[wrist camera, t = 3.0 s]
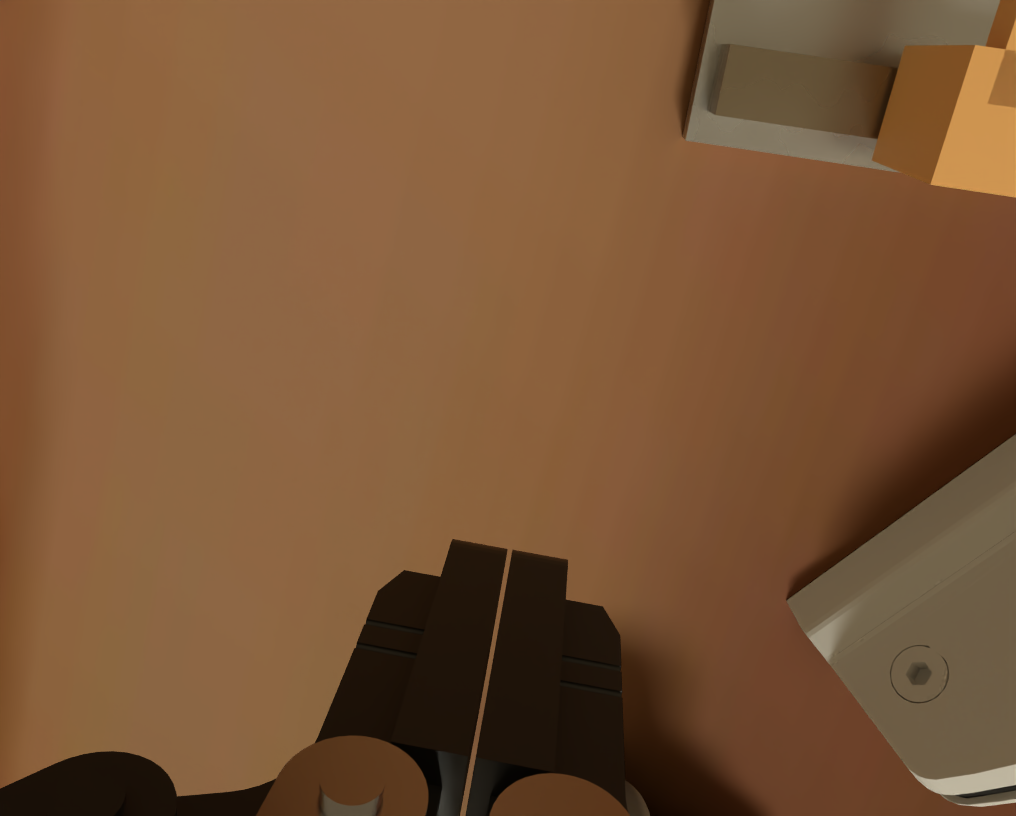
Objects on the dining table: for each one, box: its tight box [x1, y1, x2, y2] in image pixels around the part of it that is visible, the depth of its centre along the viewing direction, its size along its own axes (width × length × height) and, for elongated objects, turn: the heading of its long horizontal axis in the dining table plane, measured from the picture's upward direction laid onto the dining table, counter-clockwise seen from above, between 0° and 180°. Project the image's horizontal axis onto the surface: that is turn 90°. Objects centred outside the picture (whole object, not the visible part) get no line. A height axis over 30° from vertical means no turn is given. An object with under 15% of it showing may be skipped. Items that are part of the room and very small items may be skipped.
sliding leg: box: [872, 0, 1016, 197], centre depth 23 cm, size 2×7×7 cm, turn 172°
